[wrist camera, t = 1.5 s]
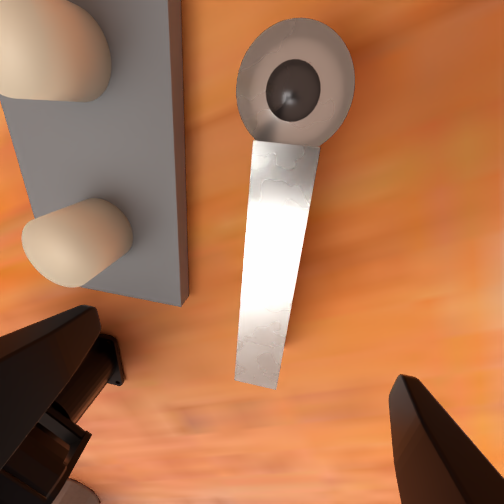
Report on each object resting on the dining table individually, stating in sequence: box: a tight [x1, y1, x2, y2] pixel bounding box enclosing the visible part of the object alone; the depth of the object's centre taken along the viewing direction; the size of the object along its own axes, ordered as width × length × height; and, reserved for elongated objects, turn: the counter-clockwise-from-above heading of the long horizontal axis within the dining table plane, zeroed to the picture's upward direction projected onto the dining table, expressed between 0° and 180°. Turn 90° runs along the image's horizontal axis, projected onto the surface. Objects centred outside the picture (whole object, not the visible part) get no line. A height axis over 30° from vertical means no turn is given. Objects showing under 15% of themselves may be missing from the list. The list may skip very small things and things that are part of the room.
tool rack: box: [0, 0, 189, 307], centre depth 16 cm, size 21×11×6 cm, turn 175°
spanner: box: [235, 18, 355, 390], centre depth 17 cm, size 20×5×4 cm, turn 175°
